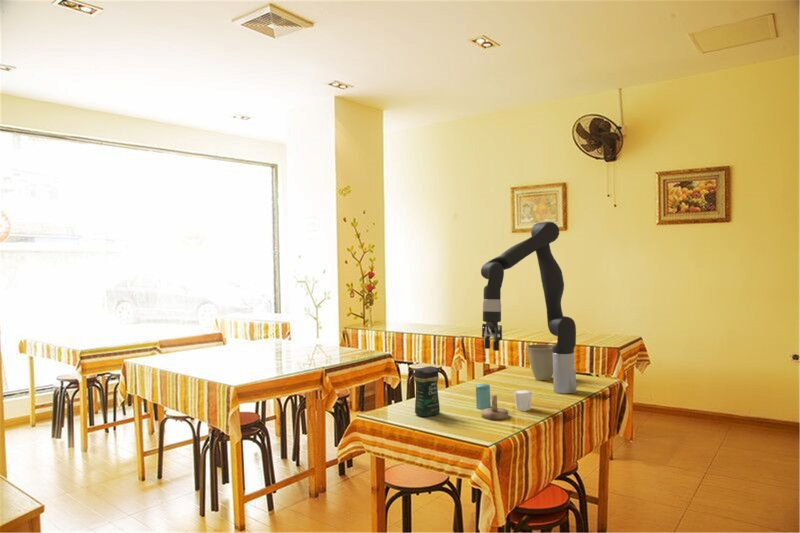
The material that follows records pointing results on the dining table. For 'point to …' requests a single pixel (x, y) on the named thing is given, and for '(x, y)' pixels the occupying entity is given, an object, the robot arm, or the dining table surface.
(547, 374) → the plant pot
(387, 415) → the dining table surface
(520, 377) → the dining table surface
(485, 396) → the teal lidded canister
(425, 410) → the coffee jar
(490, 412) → the post
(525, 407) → the white cup
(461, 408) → the dining table surface
